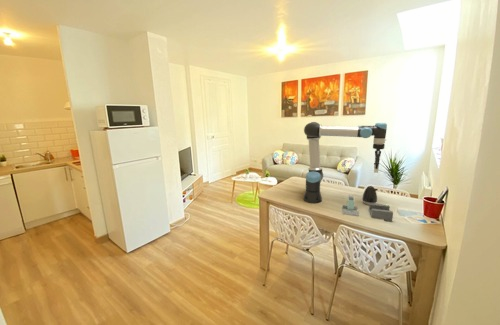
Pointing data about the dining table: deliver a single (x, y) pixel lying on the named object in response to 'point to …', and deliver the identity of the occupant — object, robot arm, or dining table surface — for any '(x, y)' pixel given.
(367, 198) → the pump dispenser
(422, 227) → the dining table surface
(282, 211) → the dining table surface
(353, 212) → the holster
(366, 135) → the robot arm
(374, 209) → the port
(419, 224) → the dining table surface
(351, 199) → the plug
